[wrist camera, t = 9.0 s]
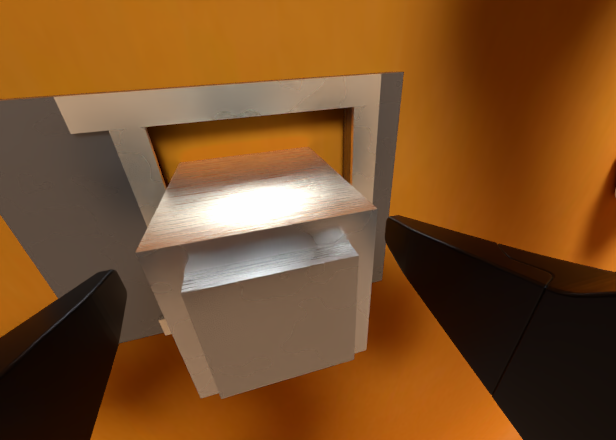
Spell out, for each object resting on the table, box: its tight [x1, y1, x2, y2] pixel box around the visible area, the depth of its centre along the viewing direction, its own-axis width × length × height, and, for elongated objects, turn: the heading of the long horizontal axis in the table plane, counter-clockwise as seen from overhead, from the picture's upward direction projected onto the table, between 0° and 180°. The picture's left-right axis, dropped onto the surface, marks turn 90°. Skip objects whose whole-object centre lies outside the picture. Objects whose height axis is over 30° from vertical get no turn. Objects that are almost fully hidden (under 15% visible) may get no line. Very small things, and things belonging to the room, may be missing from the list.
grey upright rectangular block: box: [135, 147, 378, 399], centre depth 9 cm, size 5×5×7 cm
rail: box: [0, 72, 404, 343], centre depth 10 cm, size 24×10×1 cm, turn 93°
